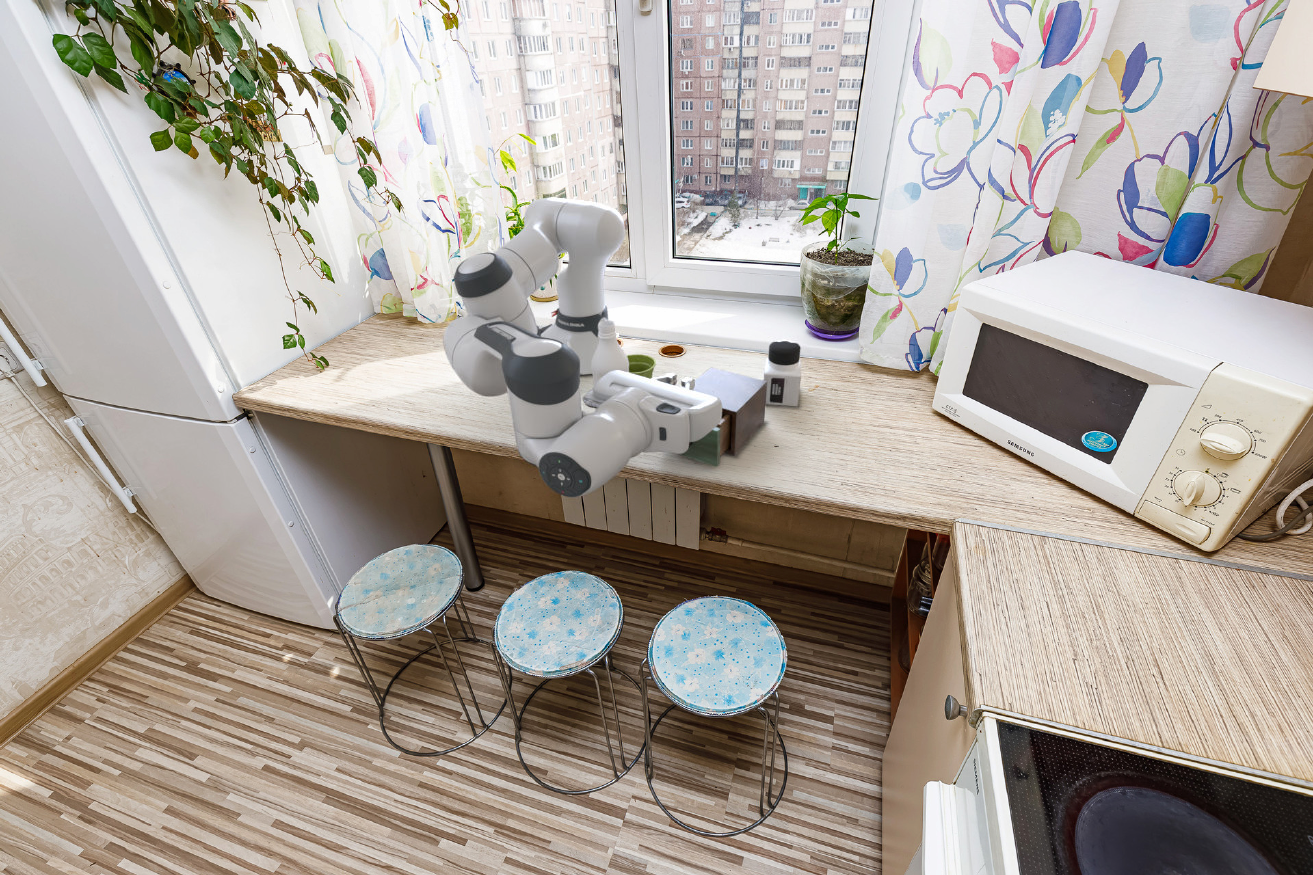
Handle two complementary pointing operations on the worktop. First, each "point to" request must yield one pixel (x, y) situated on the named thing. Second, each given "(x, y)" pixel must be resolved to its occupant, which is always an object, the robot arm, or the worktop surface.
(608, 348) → the water bottle
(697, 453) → the drawer
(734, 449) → the cabinet
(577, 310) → the robot arm
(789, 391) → the container
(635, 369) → the plant pot
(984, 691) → the worktop surface
